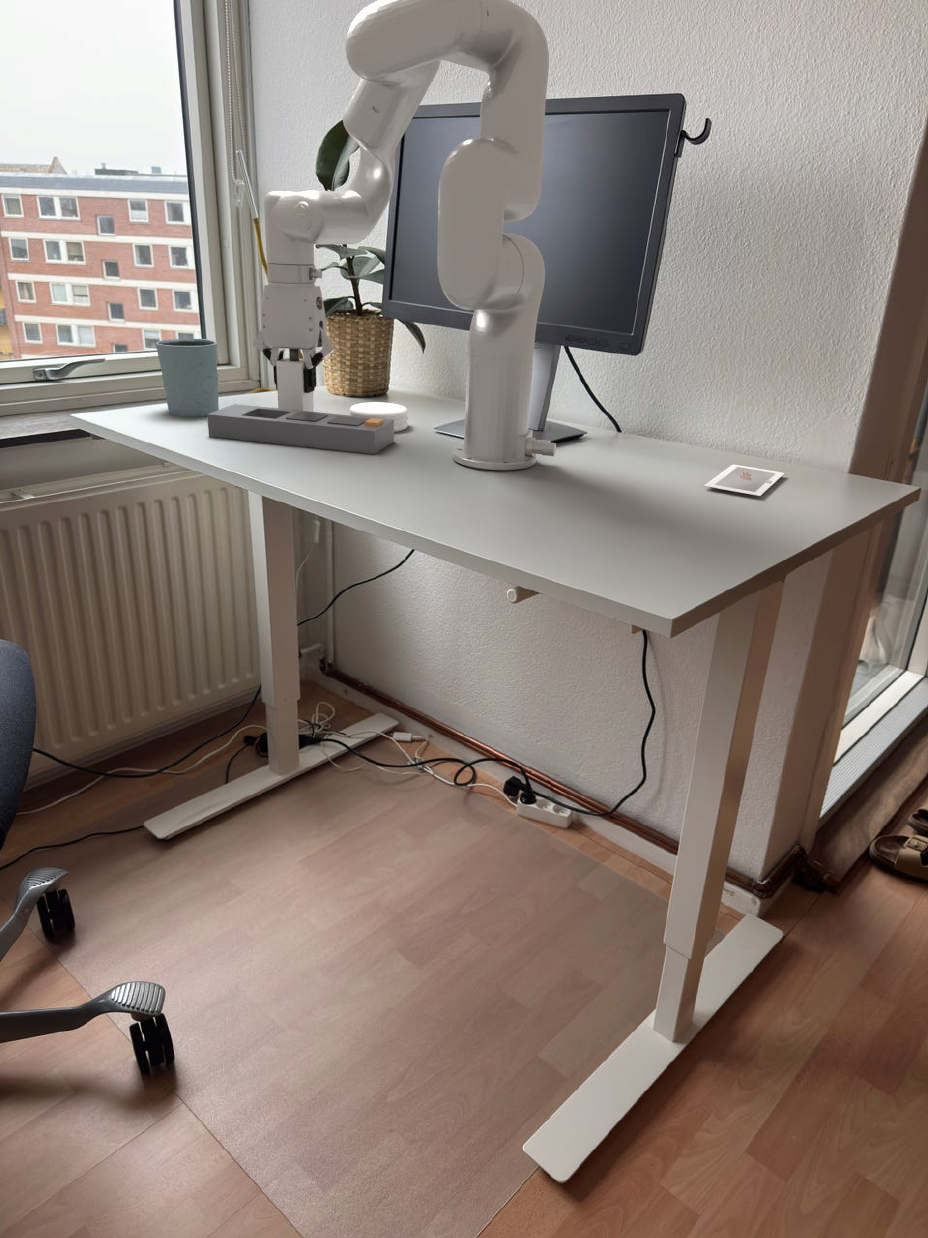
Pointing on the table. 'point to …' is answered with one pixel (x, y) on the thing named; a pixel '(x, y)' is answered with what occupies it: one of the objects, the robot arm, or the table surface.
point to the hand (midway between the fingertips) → (295, 389)
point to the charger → (293, 384)
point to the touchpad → (745, 480)
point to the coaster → (382, 413)
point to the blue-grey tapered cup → (189, 376)
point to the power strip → (302, 428)
